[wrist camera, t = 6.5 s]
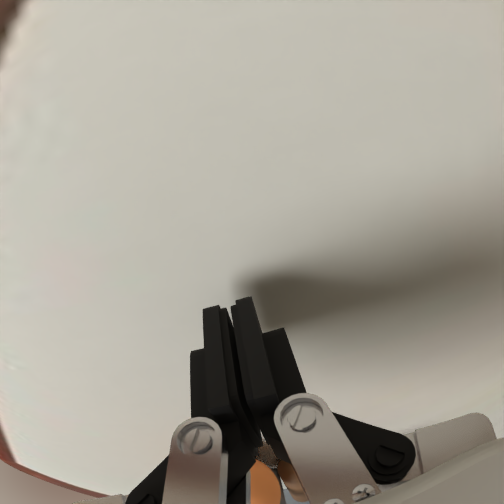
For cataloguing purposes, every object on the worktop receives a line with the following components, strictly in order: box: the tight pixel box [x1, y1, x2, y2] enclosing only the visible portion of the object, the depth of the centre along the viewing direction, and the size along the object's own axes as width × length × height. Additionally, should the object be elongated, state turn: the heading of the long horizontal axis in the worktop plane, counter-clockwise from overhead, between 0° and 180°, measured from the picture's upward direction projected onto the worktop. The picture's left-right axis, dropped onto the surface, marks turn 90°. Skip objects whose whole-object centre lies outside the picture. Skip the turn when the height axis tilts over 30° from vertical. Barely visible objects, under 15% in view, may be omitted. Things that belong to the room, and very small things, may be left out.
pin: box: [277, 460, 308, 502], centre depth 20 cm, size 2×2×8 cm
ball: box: [250, 459, 281, 504], centre depth 16 cm, size 6×6×6 cm
